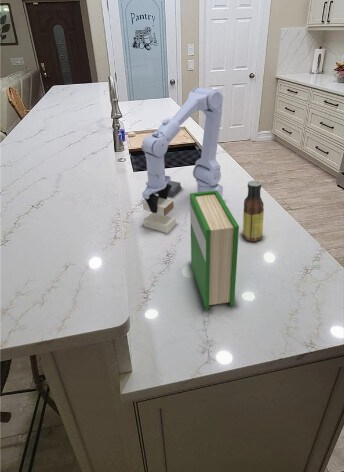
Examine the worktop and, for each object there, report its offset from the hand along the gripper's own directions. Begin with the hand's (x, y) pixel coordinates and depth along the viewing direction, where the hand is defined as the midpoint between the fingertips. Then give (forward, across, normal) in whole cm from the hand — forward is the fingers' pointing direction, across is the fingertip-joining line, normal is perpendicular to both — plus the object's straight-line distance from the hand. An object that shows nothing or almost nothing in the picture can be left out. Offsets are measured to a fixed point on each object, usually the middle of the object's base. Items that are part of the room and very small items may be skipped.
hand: (158, 208), depth 114 cm
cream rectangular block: (+7, 0, 0) cm, 7 cm away
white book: (0, 0, 0) cm, 0 cm away
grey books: (+7, -24, -12) cm, 28 cm away
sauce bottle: (+7, -8, +31) cm, 33 cm away
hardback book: (+7, +18, +28) cm, 34 cm away
